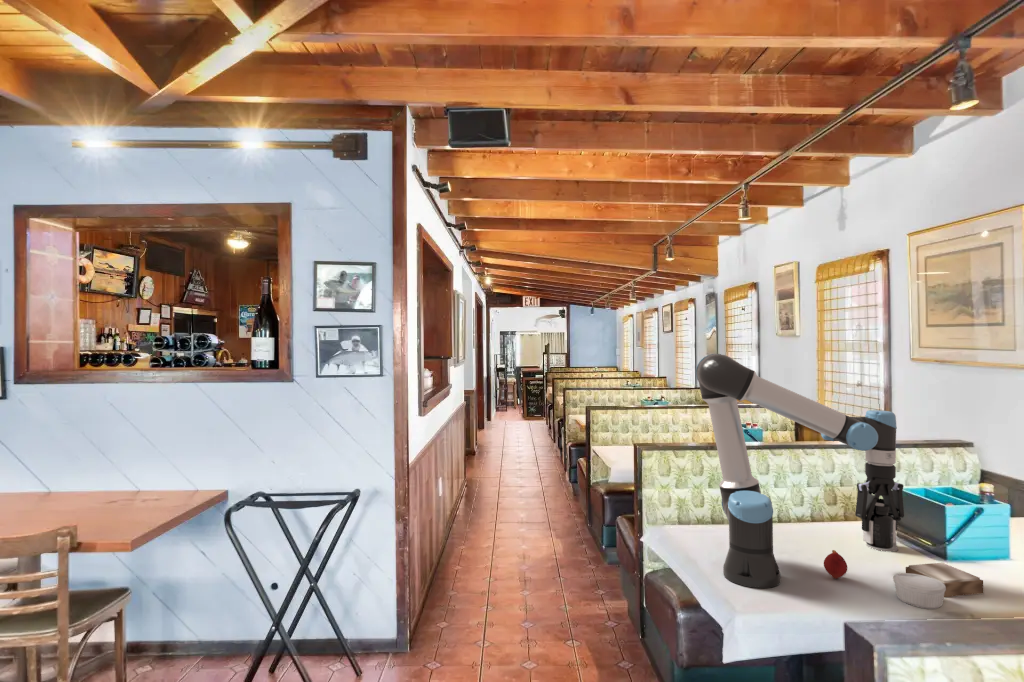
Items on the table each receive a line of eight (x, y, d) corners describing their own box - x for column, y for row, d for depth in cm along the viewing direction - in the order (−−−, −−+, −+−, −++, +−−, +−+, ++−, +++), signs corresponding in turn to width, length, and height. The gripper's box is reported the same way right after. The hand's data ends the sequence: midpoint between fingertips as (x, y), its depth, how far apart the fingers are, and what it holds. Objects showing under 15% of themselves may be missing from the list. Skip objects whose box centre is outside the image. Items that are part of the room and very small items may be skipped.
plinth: (944, 597, 149) (944, 581, 149) (905, 579, 160) (905, 564, 160) (983, 593, 150) (983, 578, 151) (942, 575, 162) (942, 561, 162)
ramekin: (924, 591, 152) (923, 571, 152) (958, 610, 141) (957, 589, 141) (883, 592, 152) (882, 572, 152) (914, 611, 141) (913, 590, 141)
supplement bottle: (898, 549, 163) (899, 508, 163) (874, 549, 163) (875, 507, 163) (883, 541, 170) (884, 501, 170) (860, 541, 170) (861, 501, 170)
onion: (845, 575, 163) (844, 548, 163) (849, 583, 158) (849, 554, 158) (822, 573, 165) (821, 545, 165) (826, 581, 160) (825, 552, 160)
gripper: (860, 466, 161) (859, 547, 161) (920, 465, 164) (919, 544, 164) (841, 461, 169) (840, 538, 168) (899, 460, 172) (898, 536, 172)
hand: (879, 541), depth 166 cm, fingers closed on supplement bottle, 7 cm apart
